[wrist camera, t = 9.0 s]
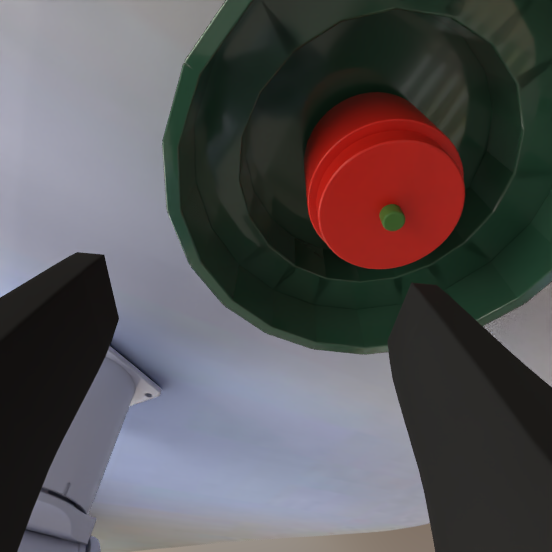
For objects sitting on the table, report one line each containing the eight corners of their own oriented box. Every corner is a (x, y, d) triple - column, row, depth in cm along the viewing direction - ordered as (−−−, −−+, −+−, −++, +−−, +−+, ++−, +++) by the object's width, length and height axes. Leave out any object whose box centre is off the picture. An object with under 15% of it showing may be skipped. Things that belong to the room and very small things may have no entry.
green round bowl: (292, 310, 23) (292, 387, 18) (125, 76, 15) (58, 113, 11) (558, 209, 18) (644, 280, 14) (516, -207, 10) (682, -348, 6)
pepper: (332, 223, 18) (347, 306, 14) (282, 128, 15) (279, 190, 11) (438, 176, 17) (498, 251, 12) (404, 59, 14) (463, 97, 9)
